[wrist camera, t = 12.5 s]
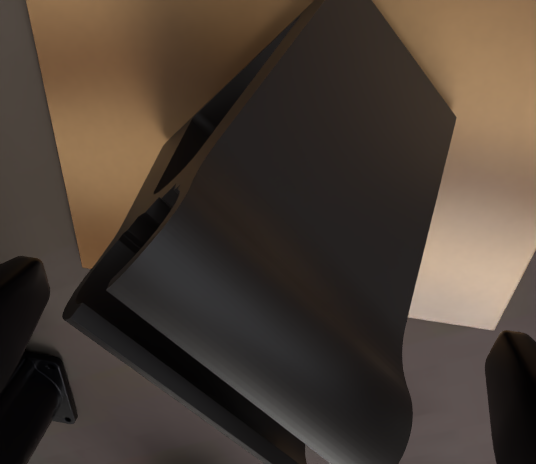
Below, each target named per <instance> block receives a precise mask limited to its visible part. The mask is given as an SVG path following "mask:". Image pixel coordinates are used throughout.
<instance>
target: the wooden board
mask: <svg viewBox="0 0 536 464" xmlns="http://www.w3.org/2000/svg"><path fill="white" fill-rule="evenodd" d="M313 1H314V0H26V3H27V8H28V13H29V17H30V22H31V27H32V31H33V36H34V41H35V46H36V50H37V55H38V60H39V65H40V69H41V74H42V79H43V83H44V88H45V93H46V98H47V102H48V107H49V112H50V117H51V121H52V126H53V131H54V135H55V140H56V145H57V150H58V154H59V159H60V164H61V169H62V173H63V178H64V183H65V187H66V192H67V197H68V202H69V206H70V211H71V216H72V221H73V225H74V230H75V235H76V239H77V244H78V249H79V254H80V258H81V263H82V267H83V268H89V269H92V267H93V266H94V265H95V264H96V262H97V261H98V260H99V258H100V257H101V256H102V254H103V253H104V251H105V250H106V249H107V247H108V246H109V244H110V243H111V242H112V240H113V239H114V237H115V236H116V234H117V232H118V231H119V229H120V227H121V226H122V224H123V222H124V220H125V218H126V216H127V214H128V212H129V210H130V208H131V206H132V205H133V203H134V201H135V199H136V197H137V195H138V193H139V191H140V189H141V187H142V185H143V183H144V181H145V179H146V178H147V176H148V174H149V172H150V170H151V168H152V166H153V164H154V162H155V160H156V158H157V156H158V154H159V152H160V150H161V149H162V147H163V145H164V144H165V143H166V142H167V141H168V140H169V139H170V138H171V137H172V136H173V135H174V134H175V133H176V132H177V131H178V130H179V129H180V128H181V127H182V126H183V125H184V124H186V123H187V122H188V121H189V120H190V119H191V118H192V117H193V116H194V115H195V114H196V113H197V112H198V111H199V110H200V109H201V108H202V107H203V106H204V105H205V104H206V103H207V102H209V101H210V100H211V99H212V98H213V97H214V96H215V95H216V94H217V93H218V92H219V91H220V90H221V89H222V88H223V87H224V86H225V85H226V84H227V83H228V82H229V81H231V80H232V79H233V78H234V77H235V76H236V75H237V74H238V73H239V72H240V71H241V70H243V69H244V68H245V67H246V66H247V65H248V64H249V62H250V61H251V60H253V59H254V58H255V57H256V56H257V55H258V54H259V53H260V52H261V51H262V50H263V49H264V48H265V47H266V46H267V45H268V44H269V43H270V42H271V41H272V40H273V39H275V38H276V37H277V36H278V35H279V34H280V33H281V32H282V31H283V30H284V29H285V28H286V27H287V26H288V25H289V24H290V23H291V22H292V21H293V20H294V19H295V18H297V17H298V16H299V15H300V14H301V13H302V12H303V11H304V10H305V9H306V8H307V7H308V6H309V5H310V4H311V3H312V2H313ZM372 1H373V3H374V4H375V5H376V7H377V8H378V10H379V11H380V12H381V14H382V15H383V16H384V18H385V19H386V21H387V22H388V23H389V25H390V26H391V27H392V29H393V30H394V32H395V33H396V34H397V36H398V37H399V38H400V40H401V41H402V43H403V44H404V45H405V47H406V48H407V49H408V51H409V52H410V54H411V55H412V56H413V58H414V59H415V60H416V62H417V63H418V65H419V66H420V67H421V69H422V70H423V72H424V73H425V74H426V76H427V77H428V78H429V80H430V81H431V83H432V84H433V85H434V87H435V88H436V89H437V91H438V92H439V94H440V95H441V96H442V98H443V99H444V100H445V102H446V103H447V105H448V106H449V107H450V109H451V110H452V111H453V113H454V114H455V116H456V117H457V118H456V123H455V127H454V131H453V135H452V139H451V143H450V147H449V151H448V155H447V159H446V163H445V167H444V171H443V175H442V179H441V184H440V188H439V192H438V196H437V200H436V204H435V208H434V212H433V216H432V220H431V224H430V228H429V232H428V236H427V240H426V245H425V249H424V253H423V257H422V261H421V265H420V269H419V273H418V277H417V281H416V285H415V289H414V293H413V297H412V301H411V306H410V310H409V314H408V317H409V318H415V319H422V320H428V321H435V322H441V323H448V324H454V325H461V326H467V327H474V328H480V329H487V330H495V328H496V326H497V324H498V322H499V320H500V318H501V316H502V314H503V312H504V310H505V308H506V306H507V304H508V302H509V301H510V299H511V297H512V295H513V293H514V291H515V289H516V287H517V285H518V283H519V281H520V279H521V277H522V275H523V273H524V271H525V270H526V268H527V266H528V264H529V262H530V260H531V258H532V256H533V254H534V252H535V250H536V0H372Z"/></svg>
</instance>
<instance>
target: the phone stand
mask: <svg viewBox="0 0 536 464" xmlns="http://www.w3.org/2000/svg"><path fill="white" fill-rule="evenodd" d="M456 118H457V117H456V116H455V114H454V113H453V111H452V110H451V109H450V107H449V106H448V105H447V103H446V102H445V100H444V99H443V98H442V96H441V95H440V94H439V92H438V91H437V89H436V88H435V87H434V85H433V84H432V83H431V81H430V80H429V78H428V77H427V76H426V74H425V73H424V72H423V70H422V69H421V67H420V66H419V65H418V63H417V62H416V60H415V59H414V58H413V56H412V55H411V54H410V52H409V51H408V49H407V48H406V47H405V45H404V44H403V43H402V41H401V40H400V38H399V37H398V36H397V34H396V33H395V32H394V30H393V29H392V27H391V26H390V25H389V23H388V22H387V21H386V19H385V18H384V16H383V15H382V14H381V12H380V11H379V10H378V8H377V7H376V5H375V4H374V3H373V1H372V0H314V1H313V2H312V3H311V4H310V5H309V6H308V7H307V8H306V9H305V10H304V11H303V12H302V13H301V14H300V15H299V16H298V17H297V18H295V19H294V20H293V21H292V22H291V23H290V24H289V25H288V26H287V27H286V28H285V29H284V30H283V31H282V32H281V33H280V34H279V35H278V36H277V37H276V38H275V39H273V40H272V41H271V42H270V43H269V44H268V45H267V46H266V47H265V48H264V49H263V50H262V51H261V52H260V53H259V54H258V55H257V56H256V57H255V58H254V59H253V60H251V61H250V62H249V64H248V65H247V66H246V67H245V68H244V69H243V70H241V71H240V72H239V73H238V74H237V75H236V76H235V77H234V78H233V79H232V80H231V81H229V82H228V83H227V84H226V85H225V86H224V87H223V88H222V89H221V90H220V91H219V92H218V93H217V94H216V95H215V96H214V97H213V98H212V99H211V100H210V101H209V102H207V103H206V104H205V105H204V106H203V107H202V108H201V109H200V110H199V111H198V112H197V113H196V114H195V115H194V116H193V117H192V118H191V119H190V120H189V121H188V122H187V123H186V124H184V125H183V126H182V127H181V128H180V129H179V130H178V131H177V132H176V133H175V134H174V135H173V136H172V137H171V138H170V139H169V140H168V141H167V142H166V143H165V144H164V145H163V147H162V149H161V150H160V152H159V154H158V156H157V158H156V160H155V162H154V164H153V166H152V168H151V170H150V172H149V174H148V176H147V178H146V179H145V181H144V183H143V185H142V187H141V189H140V191H139V193H138V195H137V197H136V199H135V201H134V203H133V205H132V206H131V208H130V210H129V212H128V214H127V216H126V218H125V220H124V222H123V224H122V226H121V227H120V229H119V231H118V232H117V234H116V236H115V237H114V239H113V240H112V242H111V243H110V244H109V246H108V247H107V249H106V250H105V251H104V253H103V254H102V256H101V257H100V258H99V260H98V261H97V262H96V264H95V265H94V266H93V267H92V269H91V270H90V271H89V273H88V274H87V275H86V277H85V278H84V279H83V281H82V282H81V283H80V285H79V286H78V288H77V289H76V290H75V292H74V293H73V295H72V297H71V298H70V300H69V302H68V303H67V305H66V307H65V309H64V312H63V316H62V317H63V319H64V320H65V321H67V322H68V323H70V324H71V325H72V326H74V327H75V328H77V329H78V330H79V331H81V332H82V333H83V334H85V335H86V336H88V337H89V338H90V339H92V340H93V341H95V342H96V343H97V344H99V345H100V346H102V347H103V348H104V349H106V350H107V351H109V352H110V353H111V354H113V355H114V356H116V357H117V358H118V359H120V360H121V361H122V362H124V363H125V364H127V365H128V366H129V367H131V368H132V369H134V370H135V371H136V372H138V373H139V374H141V375H142V376H143V377H145V378H146V379H148V380H149V381H150V382H152V383H153V384H155V385H156V386H157V387H159V388H160V389H161V390H163V391H164V392H166V393H167V394H168V395H170V396H171V397H173V398H174V399H175V400H177V401H178V402H180V403H181V404H182V405H184V406H185V407H187V408H188V409H189V410H191V411H192V412H194V413H195V414H196V415H198V416H199V417H200V418H202V419H203V420H205V421H206V422H207V423H209V424H210V425H212V426H213V427H214V428H216V429H217V430H219V431H220V432H221V433H223V434H224V435H226V436H227V437H228V438H230V439H231V440H233V441H234V442H235V443H237V444H238V445H239V446H241V447H242V448H244V449H245V450H246V451H248V452H249V453H251V454H252V455H253V456H255V457H256V458H258V459H259V460H260V461H262V462H263V463H265V464H307V463H306V458H305V444H306V445H307V446H308V447H310V448H311V449H312V450H314V451H315V452H316V453H317V454H319V455H320V456H321V457H323V458H324V459H325V460H327V461H328V462H329V463H330V464H398V463H399V461H400V459H401V458H402V456H403V453H404V451H405V449H406V446H407V443H408V440H409V437H410V433H411V427H412V417H413V411H412V402H411V397H410V394H409V391H408V388H407V385H406V381H405V377H404V372H403V364H402V344H403V336H404V330H405V326H406V322H407V318H408V314H409V310H410V306H411V301H412V297H413V293H414V289H415V285H416V281H417V277H418V273H419V269H420V265H421V261H422V257H423V253H424V249H425V245H426V240H427V236H428V232H429V228H430V224H431V220H432V216H433V212H434V208H435V204H436V200H437V196H438V192H439V188H440V184H441V179H442V175H443V171H444V167H445V163H446V159H447V155H448V151H449V147H450V143H451V139H452V135H453V131H454V127H455V123H456Z"/></svg>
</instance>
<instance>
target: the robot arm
mask: <svg viewBox="0 0 536 464" xmlns="http://www.w3.org/2000/svg"><path fill="white" fill-rule="evenodd" d="M49 296H50V287H49V283H48V280H47V276H46V272H45V269H44V265H43V263H42V261H41V260H40V259H38V258H32V257H26V256H18V257H15V258H13V259H11V260H9V261H7V262H5V263H3V264H0V464H27V463H28V461H29V459H30V458H31V456H32V454H33V453H34V451H35V449H36V447H37V446H38V444H39V442H40V441H41V439H42V437H43V435H44V434H45V432H46V430H47V428H48V427H49V425H50V423H51V422H52V421H56V422H62V423H67V424H73V423H75V421H76V419H77V417H78V415H77V412H76V408H75V405H74V401H73V398H72V394H71V391H70V388H69V384H68V381H67V377H66V374H65V370H64V367H63V363H62V361H61V360H60V359H58V358H57V357H54V356H48V355H42V354H36V353H30V352H24V350H25V348H26V346H27V344H28V342H29V340H30V338H31V336H32V333H33V331H34V329H35V327H36V325H37V323H38V321H39V319H40V317H41V315H42V312H43V310H44V308H45V306H46V304H47V302H48V300H49ZM485 375H486V385H487V394H488V404H489V413H490V423H491V432H492V440H493V448H494V453H495V458H496V463H497V464H536V342H535V341H534V340H533V339H532V338H531V337H530V336H529V335H527V334H525V333H521V332H515V331H508V330H506V331H502V332H501V333H500V334H499V336H498V338H497V340H496V341H495V343H494V345H493V347H492V349H491V351H490V353H489V355H488V357H487V359H486V363H485Z"/></svg>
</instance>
